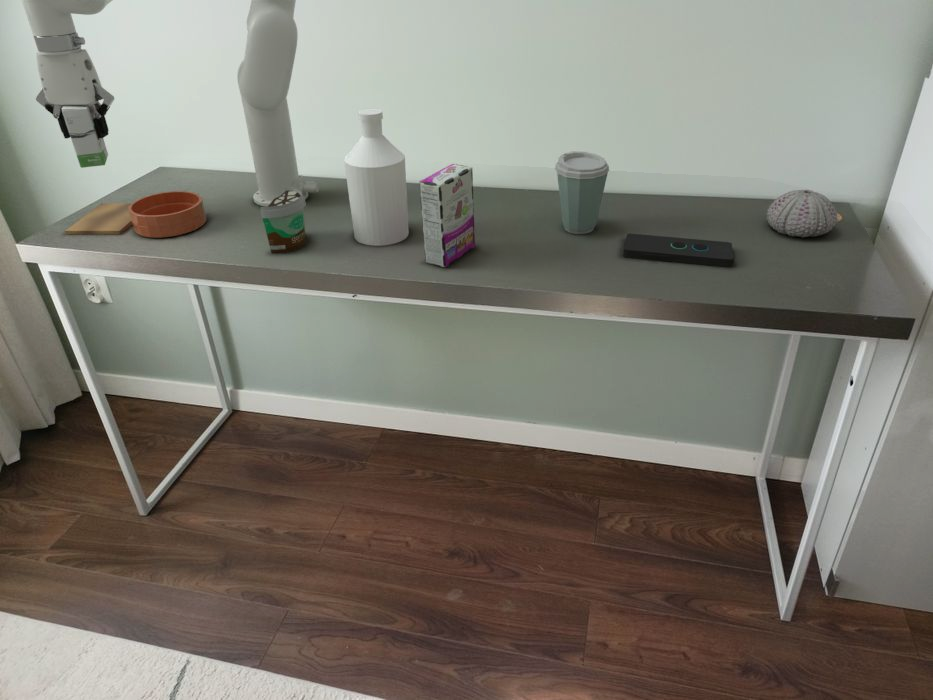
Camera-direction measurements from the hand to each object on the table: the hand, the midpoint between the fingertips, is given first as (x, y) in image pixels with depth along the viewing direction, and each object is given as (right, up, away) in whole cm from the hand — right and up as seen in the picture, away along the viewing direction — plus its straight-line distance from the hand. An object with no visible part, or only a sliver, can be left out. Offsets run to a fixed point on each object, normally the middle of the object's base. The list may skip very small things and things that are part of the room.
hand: (86, 135), depth 145 cm
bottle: (+61, -21, 0) cm, 65 cm away
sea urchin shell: (+147, -20, -1) cm, 149 cm away
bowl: (+15, -17, +7) cm, 24 cm away
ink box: (0, -5, +3) cm, 6 cm away
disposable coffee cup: (+102, -19, +1) cm, 104 cm away
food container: (+44, -23, -3) cm, 50 cm away
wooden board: (0, -16, +10) cm, 19 cm away
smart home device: (+120, -26, -10) cm, 123 cm away
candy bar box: (+76, -26, -9) cm, 81 cm away
